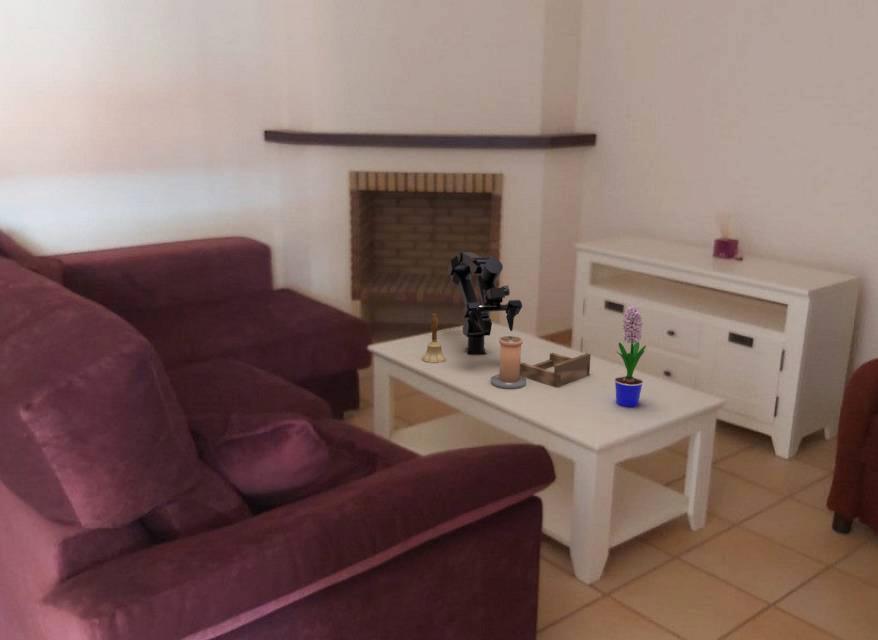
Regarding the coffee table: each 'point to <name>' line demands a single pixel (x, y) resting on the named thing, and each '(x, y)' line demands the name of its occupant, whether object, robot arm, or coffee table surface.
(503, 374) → the pot
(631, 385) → the hyacinth
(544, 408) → the coffee table surface
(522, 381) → the saucer
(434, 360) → the hand bell
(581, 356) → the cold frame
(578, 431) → the coffee table surface
